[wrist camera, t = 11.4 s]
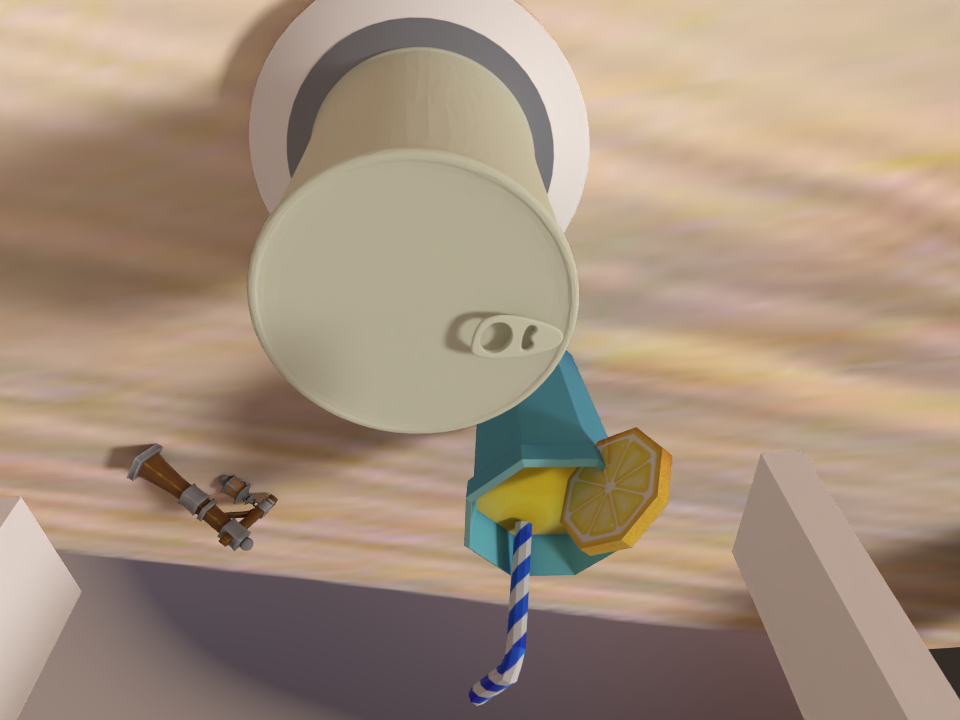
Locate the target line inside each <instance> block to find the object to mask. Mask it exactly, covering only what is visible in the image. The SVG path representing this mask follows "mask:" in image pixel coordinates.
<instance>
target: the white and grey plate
mask: <svg viewBox="0 0 960 720" xmlns="http://www.w3.org/2000/svg"><path fill="white" fill-rule="evenodd" d="M406 47H432V48H439V49H444V50H448V51H451V52H455V53H458V54H461V55H463V56H465V57H467V58H470V59H472V60H474V61H475V62H477V63H479V64H481V65H482V66H484V67H485V68H487V69H488V70H489V71H491V72H492V73H493V74H494V75H495V76H496V77H498V78H499V79H500V80H501V81H502V82H503V83H504V84H505V85H506V87H507V88H508V89H509V90H510V91H511V93H512V94H513V95H514V97H515V98H516V100H517V101H518V103H519V105H520V106H521V108H522V110H523V112H524V114H525V116H526V119H527V121H528V124H529V127H530V130H531V134H532V138H533V144H534V150H535V160H536V163H537V166H538V169H539V172H540V175H541V178H542V181H543V184H544V187H545V189H546V192H547V195H548V198H549V201H550V204H551V206H552V209H553V212H554V214H555V217H556V220H557V222H558V225H559V226H560V228H561V230H562V232H563V234H564V232H565V230H566V228H567V227H568V225H569V223H570V221H571V220H572V218H573V216H574V214H575V211H576V209H577V206H578V204H579V201H580V199H581V196H582V192H583V188H584V185H585V181H586V177H587V170H588V162H589V128H588V120H587V113H586V108H585V105H584V101H583V98H582V94H581V90H580V87H579V85H578V83H577V80H576V78H575V76H574V73H573V71H572V69H571V67H570V65H569V63H568V62H567V60H566V58H565V57H564V55H563V53H562V52H561V50H560V48H559V47H558V45H557V44H556V42H555V41H554V39H553V38H552V37H551V36H550V34H549V33H548V32H547V31H546V29H545V28H544V27H543V26H542V24H541V23H540V22H539V21H538V20H537V19H536V18H535V17H534V16H533V15H532V14H531V13H530V12H529V11H528V10H527V9H526V8H525V7H524V6H522V5H521V4H520V3H519V2H517V1H516V0H315V1H314V2H313V3H312V4H310V5H309V6H308V7H307V8H306V9H305V10H304V11H303V12H302V13H301V14H299V15H298V16H297V17H296V18H295V19H294V20H293V22H292V23H291V24H290V25H289V26H288V28H287V29H286V30H285V31H284V33H283V34H282V35H281V36H280V37H279V39H278V40H277V42H276V43H275V45H274V47H273V48H272V50H271V52H270V53H269V55H268V57H267V59H266V60H265V63H264V65H263V68H262V70H261V72H260V75H259V77H258V80H257V82H256V86H255V90H254V94H253V98H252V103H251V109H250V119H249V151H250V156H251V162H252V168H253V173H254V176H255V180H256V183H257V186H258V189H259V193H260V195H261V197H262V199H263V202H264V204H265V206H266V208H267V210H268V213H269V214H271V212H272V211H273V210H274V208H275V207H276V206H277V205H278V203H279V202H280V200H281V198H282V196H283V194H284V192H285V190H286V188H287V186H288V184H289V182H290V181H291V179H292V177H293V175H294V173H295V171H296V169H297V167H298V165H299V163H300V161H301V159H302V157H303V154H304V152H305V150H306V148H307V146H308V144H309V142H310V139H311V135H312V130H313V126H314V122H315V119H316V117H317V114H318V111H319V109H320V107H321V105H322V103H323V101H324V100H325V98H326V96H327V95H328V93H329V92H330V91H331V89H332V88H333V87H334V86H335V84H336V83H337V82H338V81H339V80H340V79H341V78H342V77H343V76H344V75H345V74H346V73H348V72H349V71H350V70H351V69H353V68H354V67H355V66H357V65H358V64H360V63H361V62H363V61H365V60H367V59H369V58H371V57H373V56H375V55H378V54H380V53H383V52H386V51H390V50H394V49H399V48H406Z"/></svg>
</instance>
